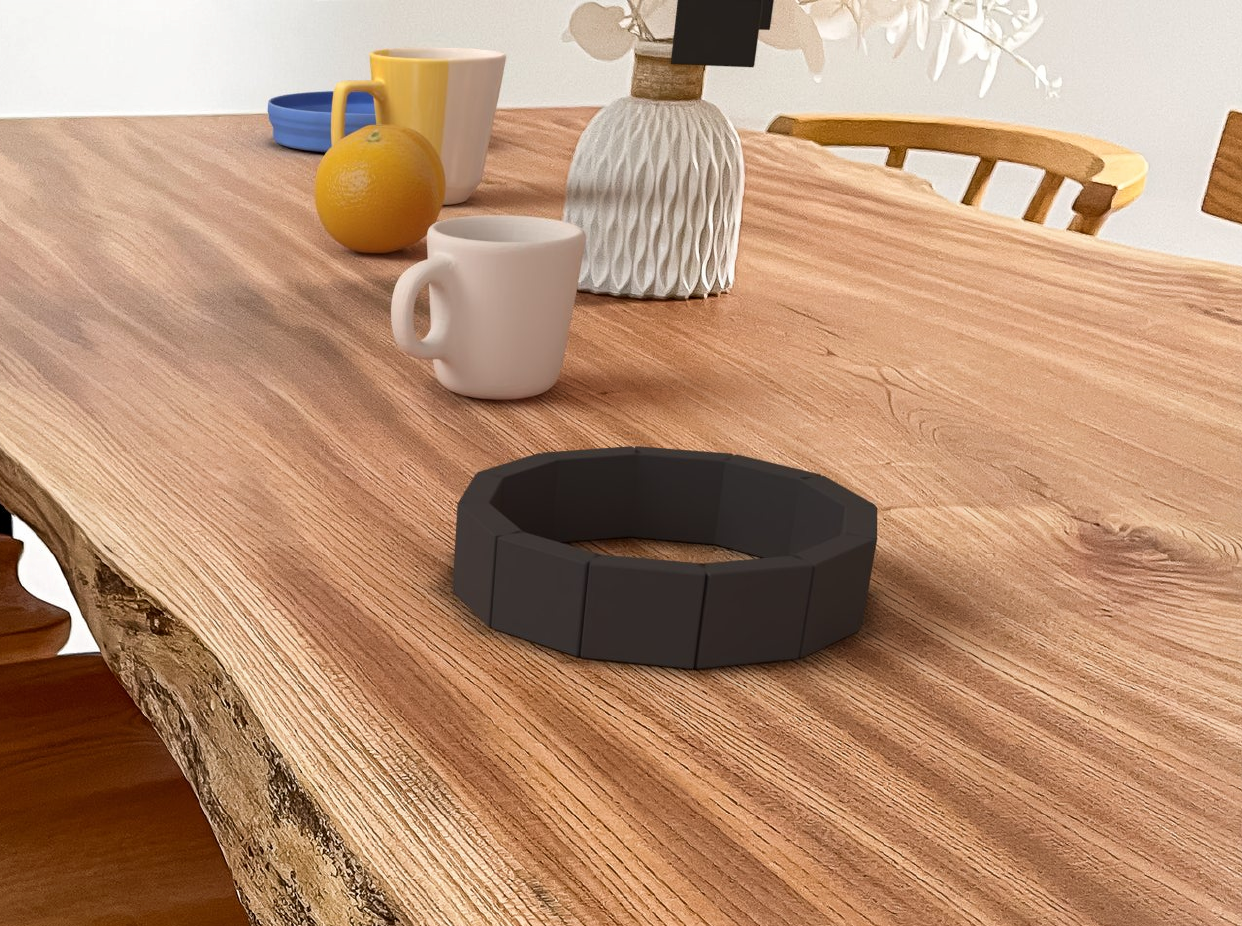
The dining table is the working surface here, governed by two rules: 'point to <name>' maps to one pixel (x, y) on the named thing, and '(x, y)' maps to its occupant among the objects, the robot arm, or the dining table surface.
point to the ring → (663, 589)
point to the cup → (493, 303)
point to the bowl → (316, 118)
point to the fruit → (380, 189)
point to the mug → (434, 104)
